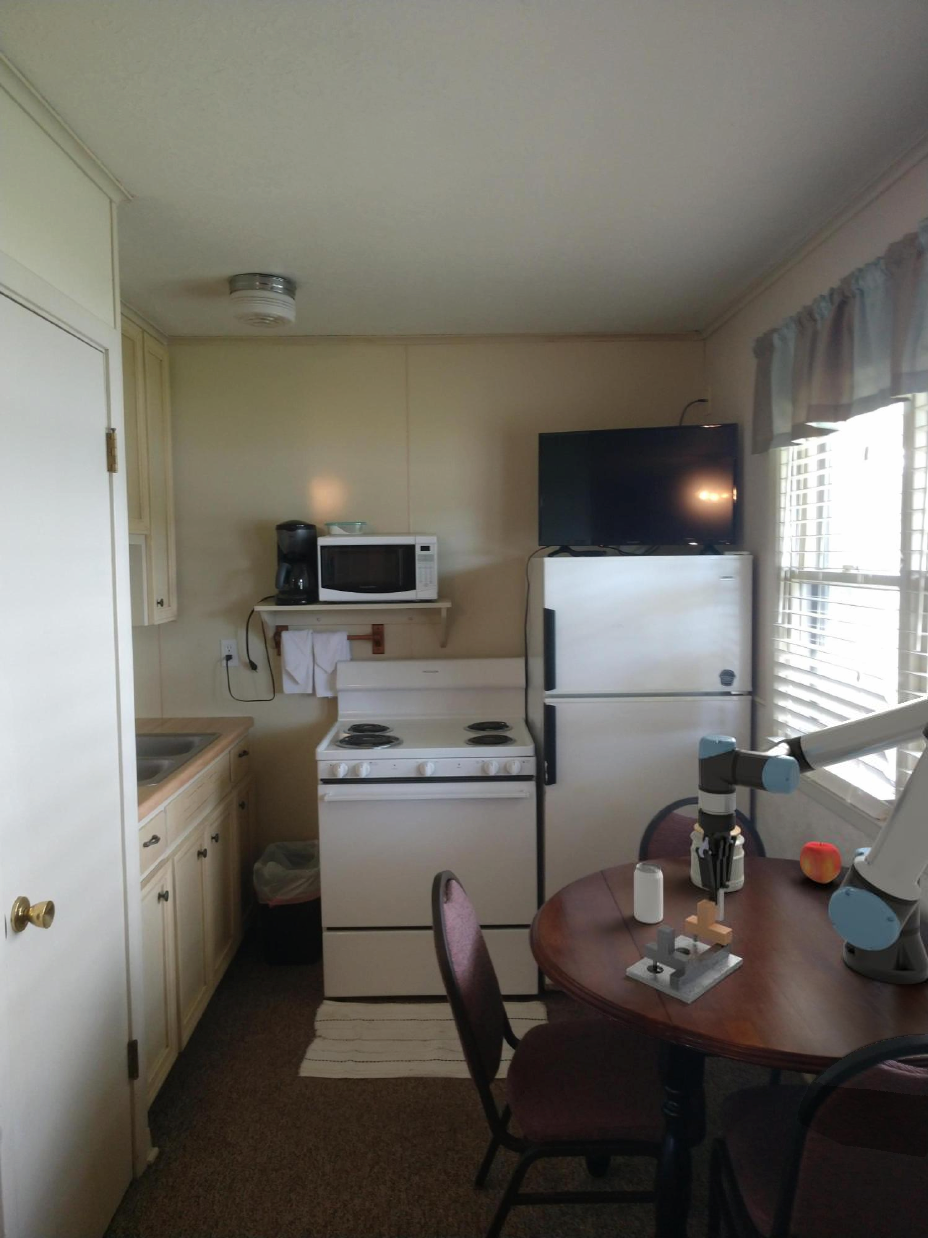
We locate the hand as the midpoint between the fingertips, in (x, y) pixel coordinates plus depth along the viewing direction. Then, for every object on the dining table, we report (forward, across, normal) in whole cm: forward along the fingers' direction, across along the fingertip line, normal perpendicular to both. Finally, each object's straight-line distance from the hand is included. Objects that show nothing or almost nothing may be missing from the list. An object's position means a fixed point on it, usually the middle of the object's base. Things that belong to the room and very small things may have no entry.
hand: (716, 918), depth 162 cm
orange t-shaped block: (+4, +4, +1) cm, 6 cm away
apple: (+6, -49, +1) cm, 49 cm away
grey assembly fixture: (+6, +13, +1) cm, 15 cm away
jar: (+6, -30, -17) cm, 34 cm away
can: (+6, 0, -17) cm, 18 cm away
